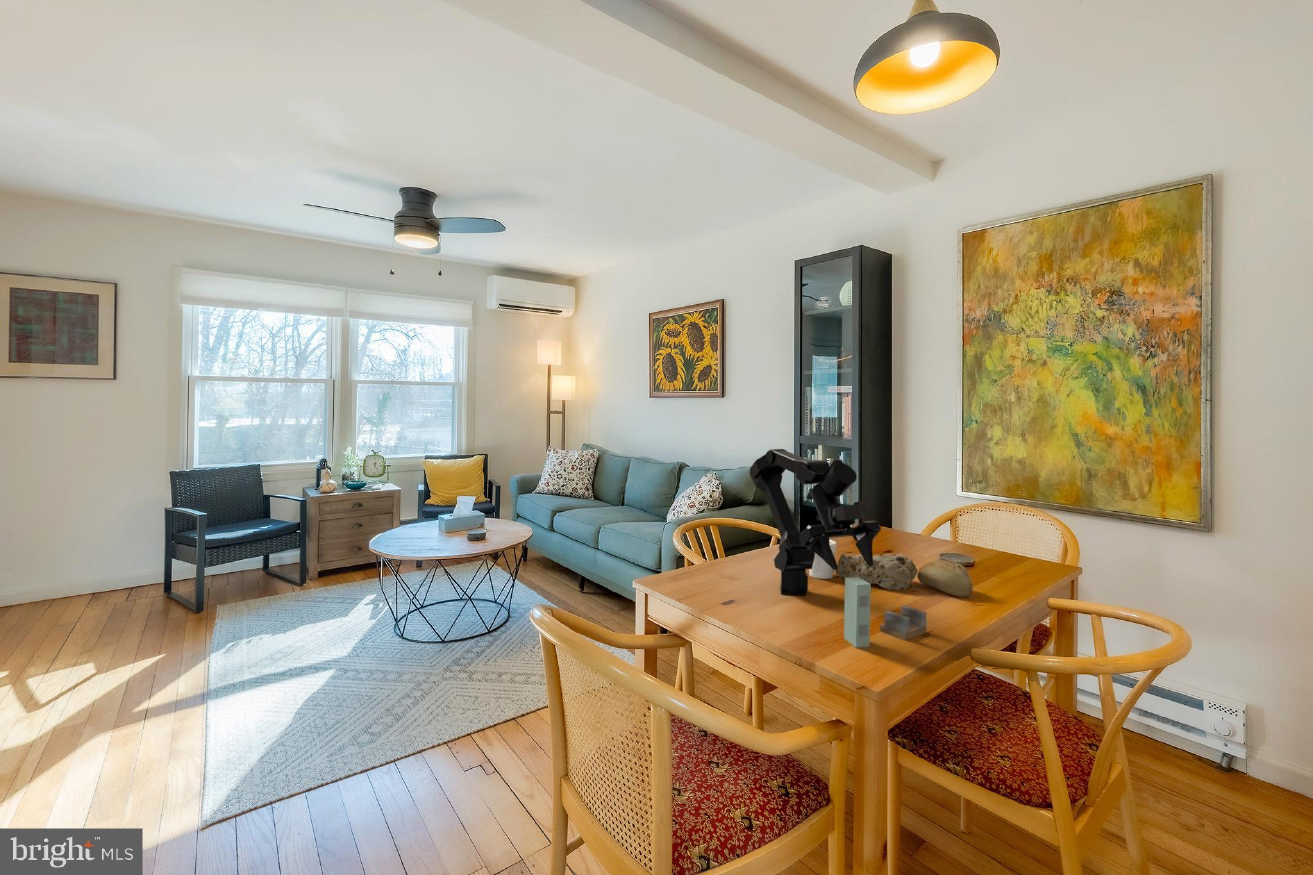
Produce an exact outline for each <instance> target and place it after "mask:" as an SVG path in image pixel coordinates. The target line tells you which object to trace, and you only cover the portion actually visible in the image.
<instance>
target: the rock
mask: <svg viewBox="0 0 1313 875" xmlns="http://www.w3.org/2000/svg"><path fill="white" fill-rule="evenodd" d="M837 567H838V569H837V570H835V574H836V576H838V577H839V578H844V579H845V578H850V577H859V578H861V579H863V580H864V581H866V582H868V583H870V584H872V585H878V586H880V587H882V588H883V589H885V590H890V591H892V590H893V591H905V590H907V589H909V587H910V586H911V584H912V583H911V582H912V580H914V579H915V578H916V577H917V574H918V571H919V568H917V565H916V564H914V561H913V559H912V558H909V557H908V556H906V555H905V554H903V553H893V554H892V553H885V554H883V553H882V554H881V553H880V554H875V555H874V554H873V566H871V567H869V566H868V564H867V563H866V561H865V560H864V558H863V556H862V555H861V553H860V554H856V553H852V554H844V553H842V554H840V556H839V559H838V561H837Z"/></svg>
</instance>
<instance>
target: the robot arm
mask: <svg viewBox="0 0 1313 875" xmlns="http://www.w3.org/2000/svg"><path fill="white" fill-rule="evenodd" d="M786 470H787V471H788V472H791V473H793V474H794V475H795V479H797V481H798V482H800V483H801V484H802V485H814V486H813V487H812V488H809V490H808V493H807V494H806V499H807V500H812V501H813V504H814V507H815V509H816V511H817V513H818V514H817V515H816V516H815V518H816V521H821V524H808V525H807V526H806V527H805V528H804V529H803V530H802V531H800V530H799V528H798V526H797V524H796V521H795V519H794V516H793V514H792V510H791V509H790V506H789V504H788V502H787V498H786V497H785V495H784V491H783V489H782V485H781V484H782V480H783V473H784V472H785V471H786ZM749 476H750V478H751V480H752V483H753V484H754V486H755V487H756V488H757V489H759V490H760V491H761V492H762V493H763V494H764V496H765V499H766V502H767V504H768V507H769V510H770V513H771V514H772V518H773V520H774V522H775V526H776V528H777V531H778V534H779V535H780V540H779V545H778V550H779V552H778V553H777V554H776V555H775V557H774V558H773V563H774V567H775V568H776V569H777V570H780V585H779V588H780V589H779V591H780V594H781V595H795V596H807V592H808V591H809V575H808V573H807V570H809V569H812V566H813V562H814V558H815V553H816V554H817V555H818V556H820V557H821V558H822V559H823V560H824V561H825V562H826V563H827V564H828V565H829V566H830V567H831V568H832V569H833V570H834V571H836V570H837V569H838V567H837V565H838V562H837V560H836V557H835V558H834V555H833V553H832V550H831V548H830V545H829V540H830V539H833V538H844V537H846V538H847V537H852V538H853V540H854V541H856V542H855V546H856V548H857V549H858V551H859V553H860V554H861V555H862V556H863V558H864V560H865V561H866V563H867V564H868V566H869V567H871V566H873V555H874V554H873V553H874V552H873V541H874V538H875V537H877V535H878V534H879V533H880V532H882V528H881V526H880V524H879V522H878V521H876V520H864V521H861V522H860V523H859V524H858V525H856V526H855V527H851V526H853V525H854V524H855V523H856V520H858V519H859V520H860V519H861V520H863V519H864V516H867V515H868V514H869V508H868V505H867V503H866V502H865V500H858V501H856V502H854V503H853V504H846V503H841V501H840V498H839V497H841V496H842V495H844V494H845V493H846V492H847V491H848V490H849V488H851V486H852V485H853V484H854V483H855V482H856V481H857V478H858V476H857V472H856V471H855V470H854V468H852V467H851V466H850V465H848V464H846V463H844V461H843V459H834V460H832V462H831V464H830V462H828V461H827V460H824V459H808V458H804V457H801V456H799V455H797V454H794V453H792V452H789V451H787V449H785V448H771V449H769V450H767V451H766V453H765V454H764V455H762V456H760V457H759V458H756V460H755V461H754V462H753V463H752V465H751V466H750V468H749Z"/></svg>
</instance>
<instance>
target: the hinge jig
mask: <svg viewBox="0 0 1313 875" xmlns="http://www.w3.org/2000/svg"><path fill="white" fill-rule="evenodd" d="M927 614H928V613H927V612H926V611H924V610H920V609H918V608H915V607H911V606H908V605H903V606H901V613H896V612H895V611H891V610H887V611H885V612H884V622H883V623H879V632H881V633H885V634H887V635H890V636H893V637H895V638H898V639H901V640H903V641H907V640H909V639H912V638H915V637H917V636H920V635H923V634H926V633H927Z"/></svg>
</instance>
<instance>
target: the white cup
mask: <svg viewBox="0 0 1313 875" xmlns="http://www.w3.org/2000/svg"><path fill="white" fill-rule="evenodd" d="M829 545H830V548H831V550H832V553H833V555H834V558H835V559H836V550H837V542H836V540H835V541H834V540H832V539H829ZM834 571H835V570H833V569H832V568H831V567H830V566H829V565H828V564H827V563H826V562H825V561H824V560H823V559H822V558H821V557H820V556H818V555H817V554H816V553H815V558H814V562H813V566H812V569H808V574H809V576H810V577H812V578H814V579H820V580H821V579H822V580H825V579H826V580H828V579H832V578H833V577H834V576H835V575H834V574H835V572H834Z"/></svg>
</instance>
